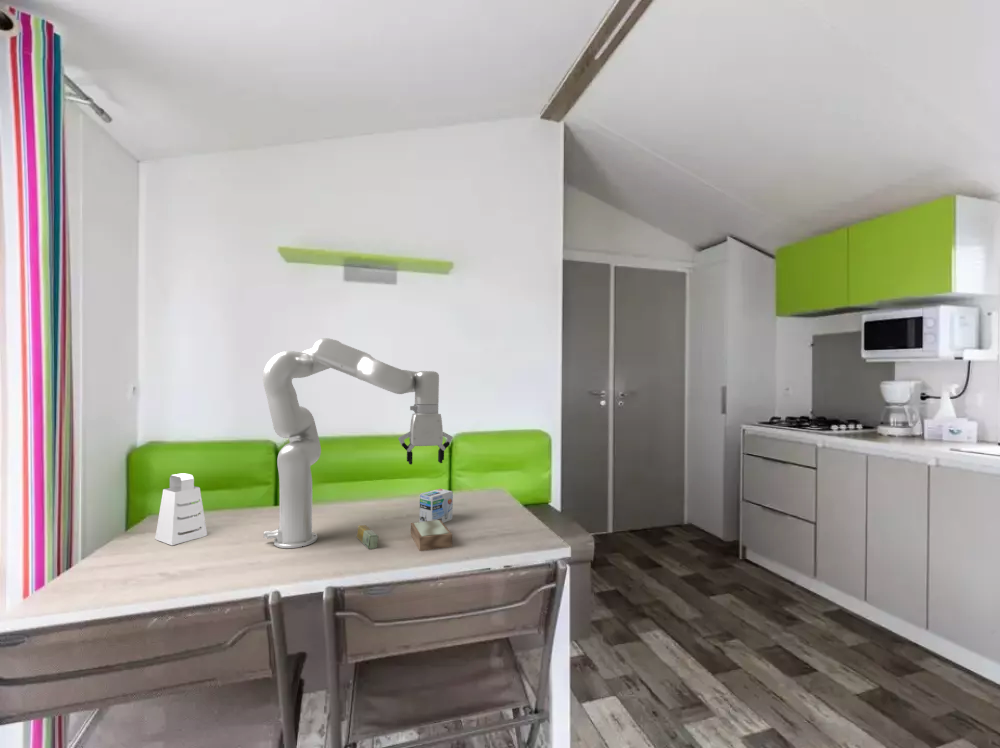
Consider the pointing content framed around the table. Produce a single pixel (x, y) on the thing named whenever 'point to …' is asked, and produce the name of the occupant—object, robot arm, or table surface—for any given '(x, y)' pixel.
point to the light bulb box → (436, 505)
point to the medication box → (367, 536)
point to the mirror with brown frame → (431, 535)
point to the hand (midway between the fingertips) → (425, 463)
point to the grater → (180, 511)
